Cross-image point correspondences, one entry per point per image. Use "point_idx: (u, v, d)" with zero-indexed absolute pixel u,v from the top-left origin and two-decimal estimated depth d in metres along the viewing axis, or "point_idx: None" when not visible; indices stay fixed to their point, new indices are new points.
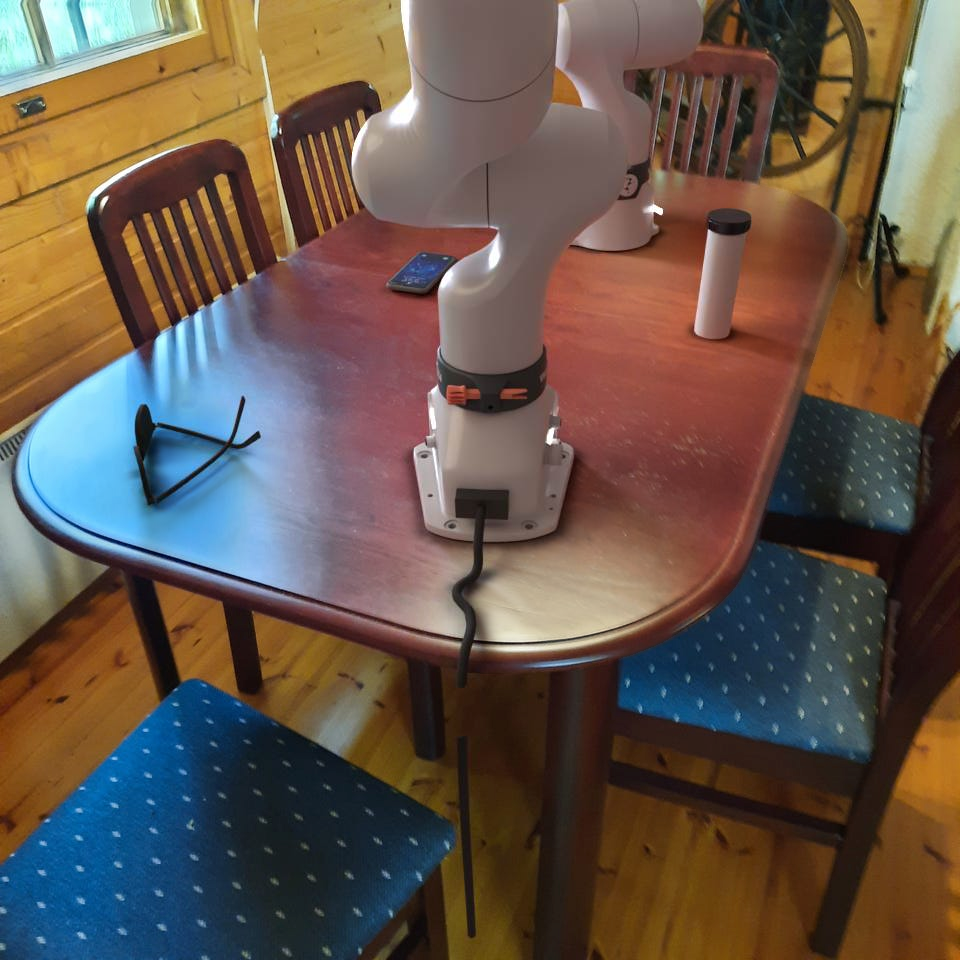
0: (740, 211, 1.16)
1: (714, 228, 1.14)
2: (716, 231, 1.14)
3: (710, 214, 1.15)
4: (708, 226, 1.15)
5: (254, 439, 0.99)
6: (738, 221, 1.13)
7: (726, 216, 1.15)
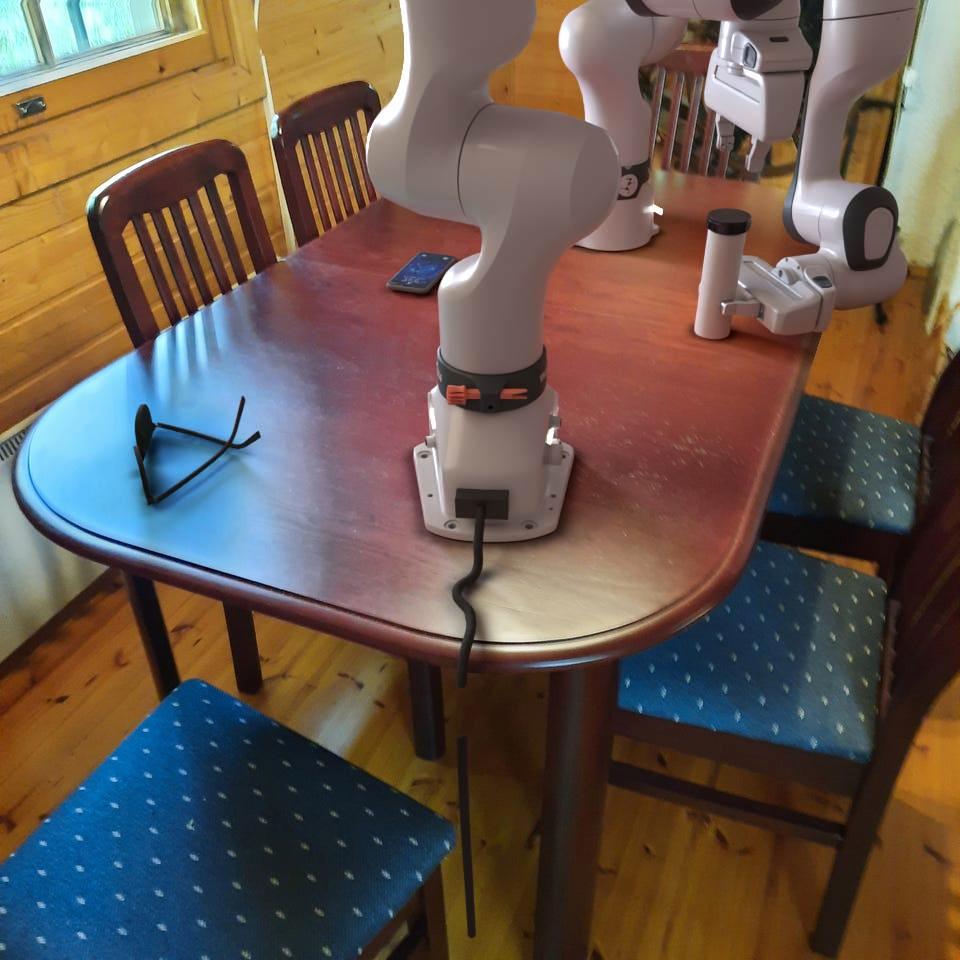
0: (740, 211, 1.16)
1: (714, 228, 1.14)
2: (716, 231, 1.14)
3: (710, 214, 1.15)
4: (708, 226, 1.15)
5: (254, 439, 0.99)
6: (738, 221, 1.13)
7: (726, 216, 1.15)
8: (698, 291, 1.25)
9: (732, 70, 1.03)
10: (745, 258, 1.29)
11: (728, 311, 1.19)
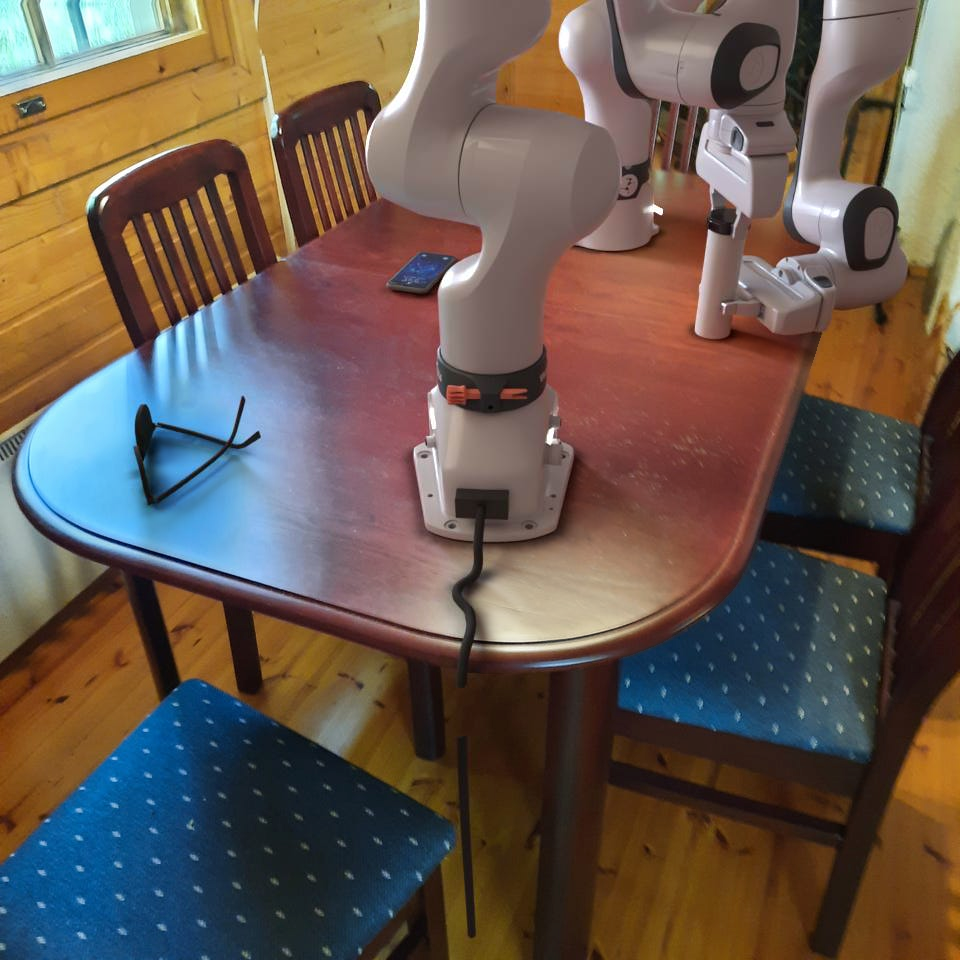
0: None
1: (714, 228, 1.14)
2: (716, 231, 1.14)
3: (710, 214, 1.15)
4: (708, 226, 1.15)
5: (254, 439, 0.99)
6: None
7: (726, 216, 1.15)
8: (698, 291, 1.25)
9: (721, 148, 1.08)
10: (745, 258, 1.29)
11: (728, 311, 1.19)
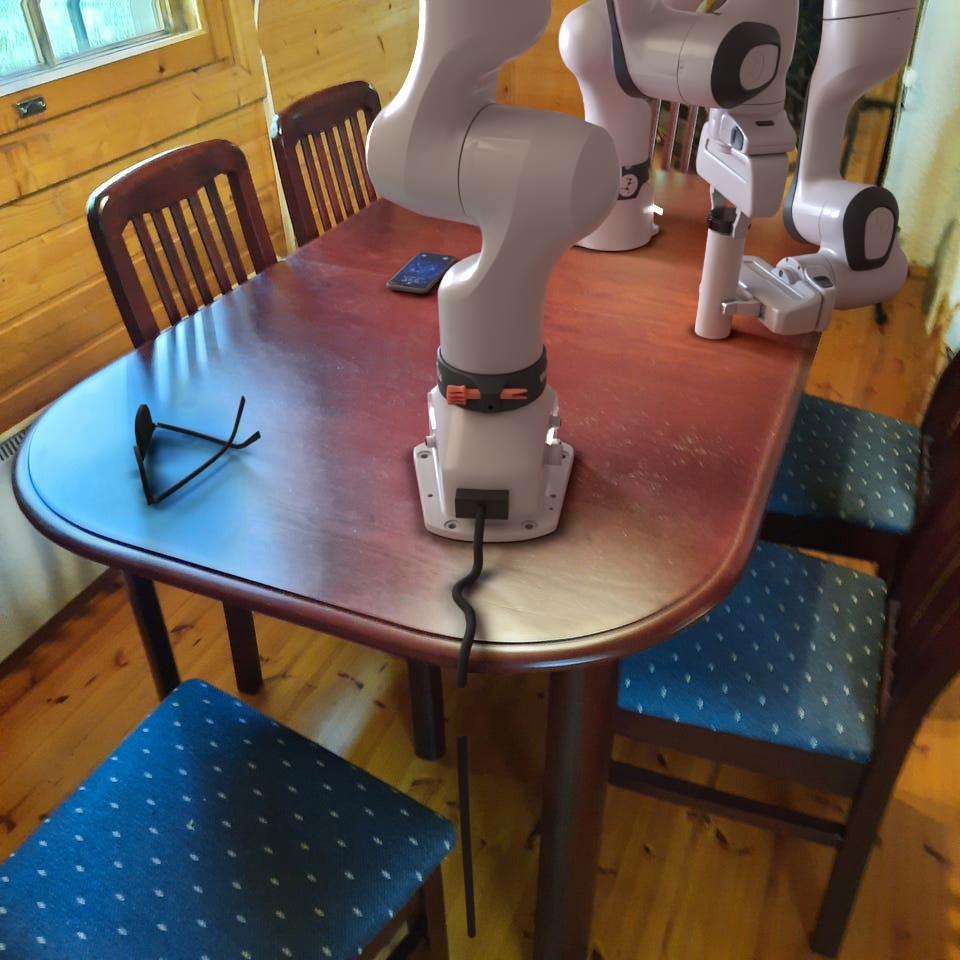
0: (716, 209, 1.16)
1: None
2: None
3: (729, 220, 1.13)
4: None
5: (254, 439, 0.99)
6: None
7: (733, 215, 1.14)
8: (699, 291, 1.25)
9: (721, 148, 1.08)
10: (746, 258, 1.29)
11: (729, 311, 1.19)
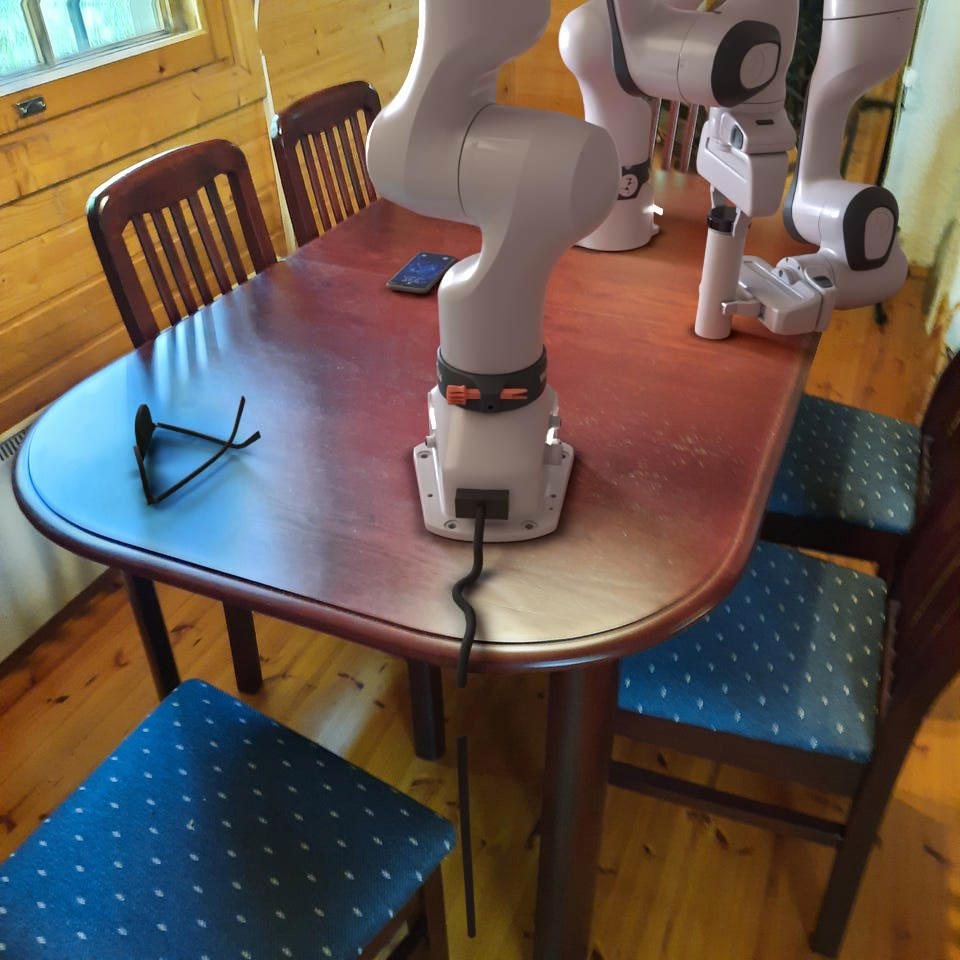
0: (717, 217, 1.14)
1: None
2: None
3: None
4: None
5: (254, 439, 0.99)
6: (722, 207, 1.17)
7: (733, 212, 1.15)
8: (699, 291, 1.25)
9: (721, 147, 1.08)
10: (745, 258, 1.29)
11: (728, 311, 1.19)
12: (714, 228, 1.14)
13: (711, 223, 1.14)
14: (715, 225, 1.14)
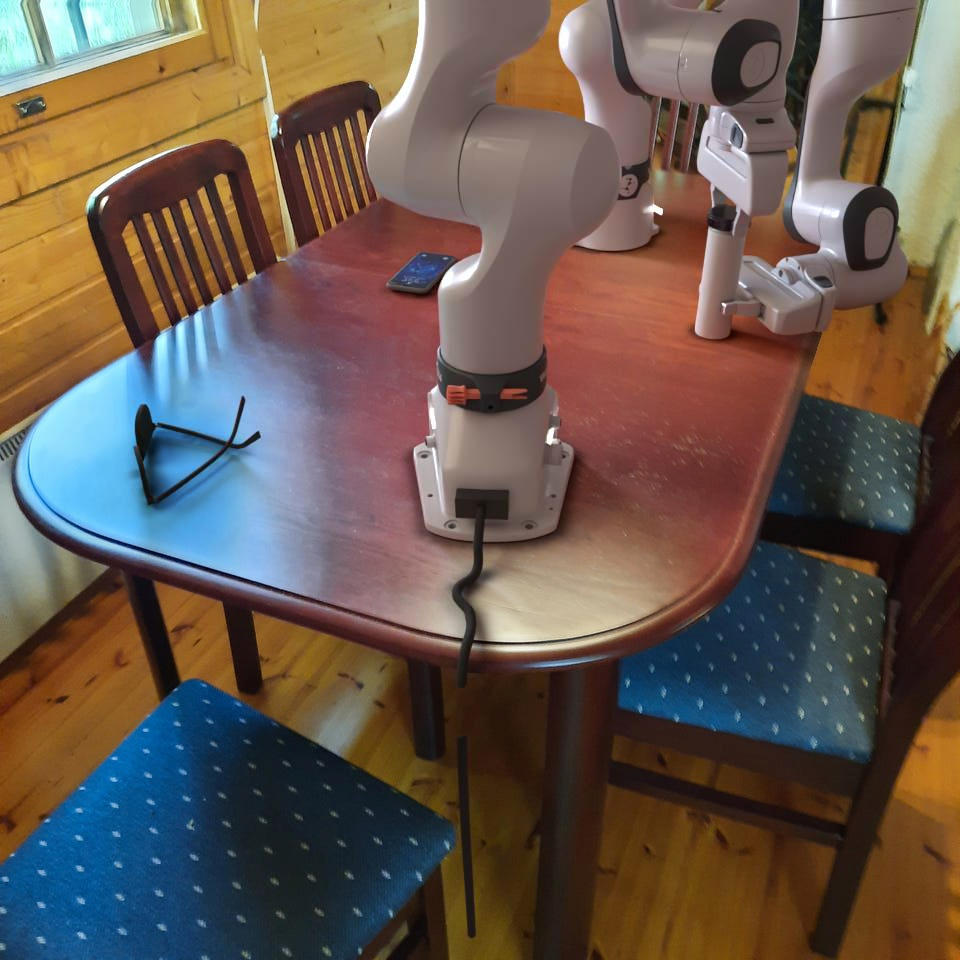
0: None
1: None
2: None
3: (732, 206, 1.17)
4: None
5: (254, 439, 0.99)
6: (713, 213, 1.14)
7: (727, 211, 1.15)
8: (699, 291, 1.25)
9: (721, 145, 1.08)
10: (745, 258, 1.29)
11: (728, 311, 1.19)
12: None
13: None
14: None
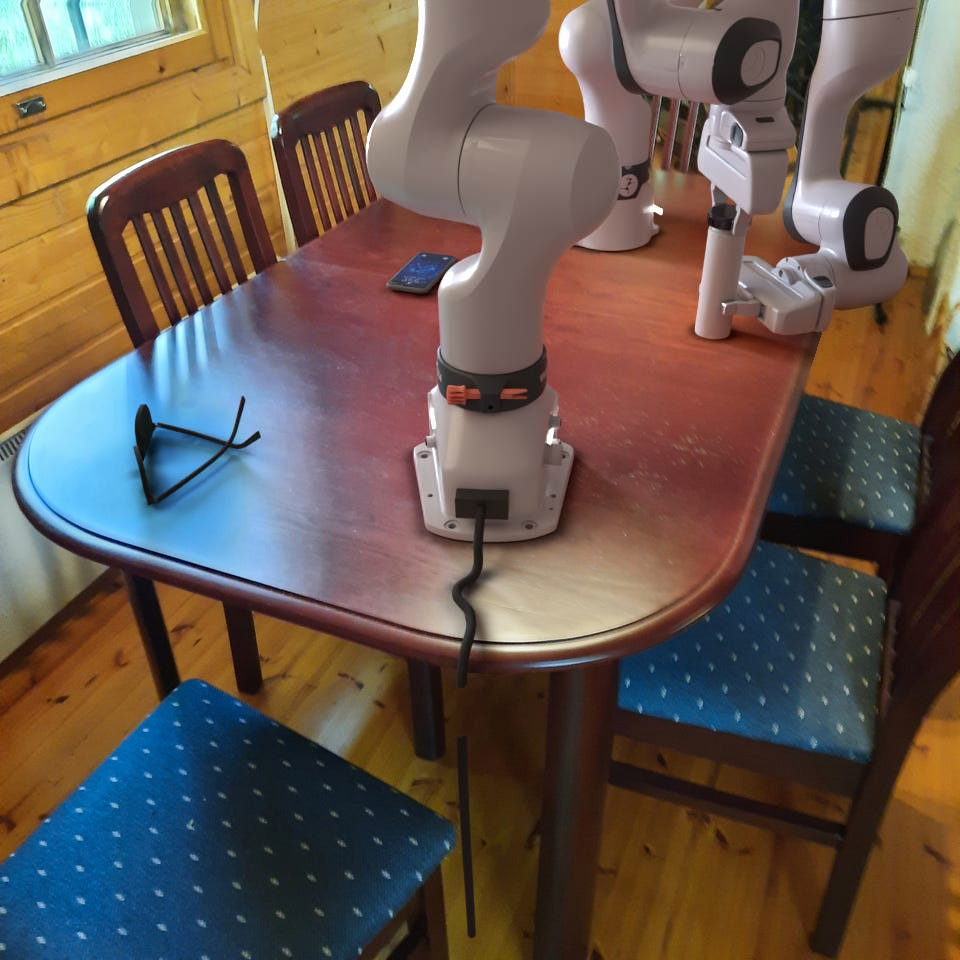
0: None
1: (712, 223, 1.14)
2: (714, 226, 1.14)
3: (711, 209, 1.15)
4: (708, 221, 1.15)
5: (254, 439, 0.99)
6: None
7: (726, 212, 1.14)
8: (699, 291, 1.25)
9: (721, 144, 1.08)
10: (745, 258, 1.29)
11: (728, 311, 1.19)
12: None
13: None
14: None
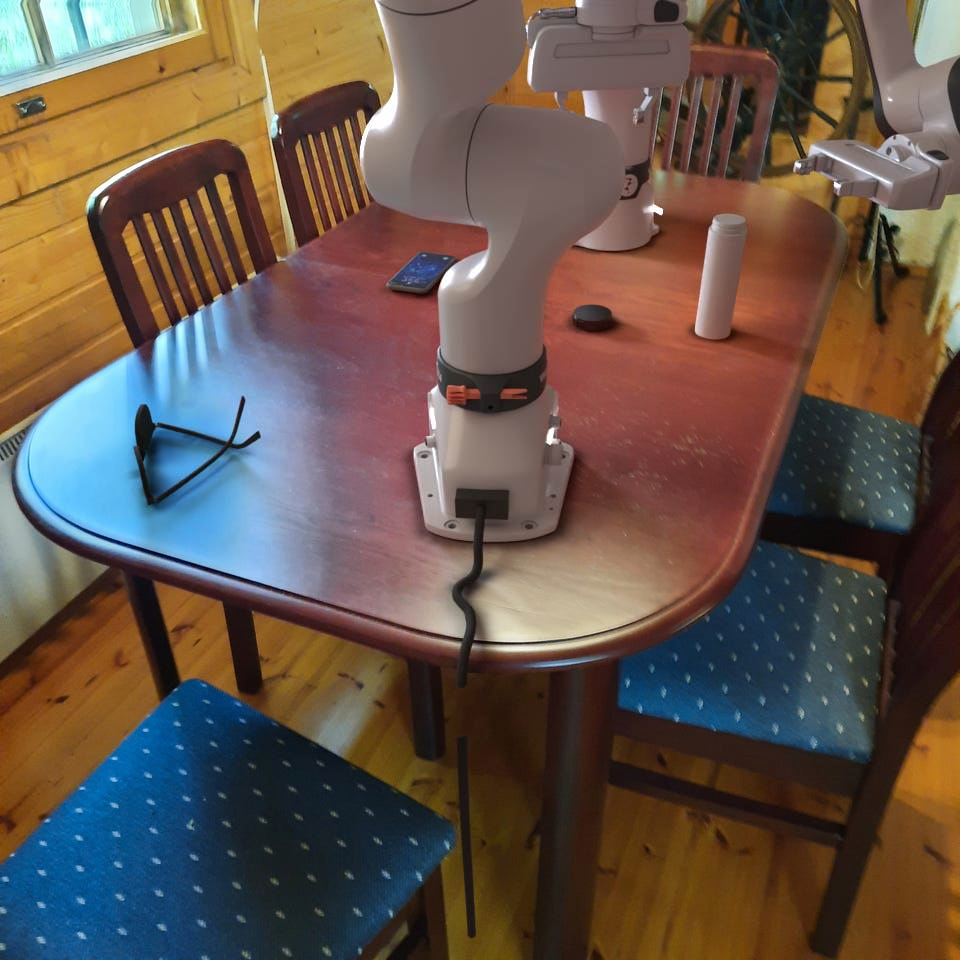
0: (579, 315, 1.27)
1: None
2: None
3: (608, 315, 1.26)
4: None
5: (254, 439, 0.99)
6: (590, 305, 1.29)
7: (596, 311, 1.28)
8: (793, 170, 1.19)
9: (623, 35, 1.03)
10: (846, 141, 1.22)
11: (843, 191, 1.11)
12: (576, 325, 1.27)
13: (574, 320, 1.27)
14: (576, 323, 1.27)
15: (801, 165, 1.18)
